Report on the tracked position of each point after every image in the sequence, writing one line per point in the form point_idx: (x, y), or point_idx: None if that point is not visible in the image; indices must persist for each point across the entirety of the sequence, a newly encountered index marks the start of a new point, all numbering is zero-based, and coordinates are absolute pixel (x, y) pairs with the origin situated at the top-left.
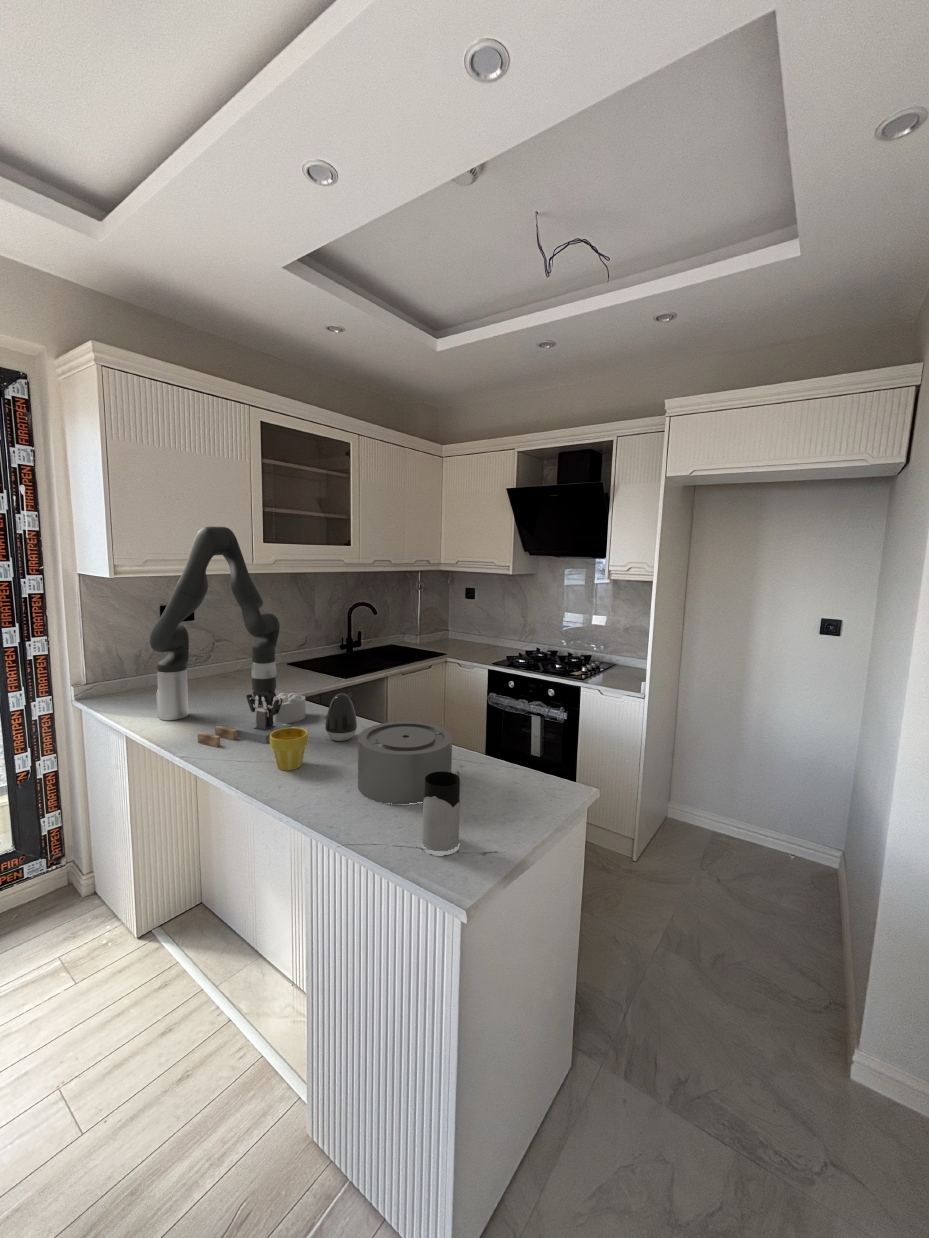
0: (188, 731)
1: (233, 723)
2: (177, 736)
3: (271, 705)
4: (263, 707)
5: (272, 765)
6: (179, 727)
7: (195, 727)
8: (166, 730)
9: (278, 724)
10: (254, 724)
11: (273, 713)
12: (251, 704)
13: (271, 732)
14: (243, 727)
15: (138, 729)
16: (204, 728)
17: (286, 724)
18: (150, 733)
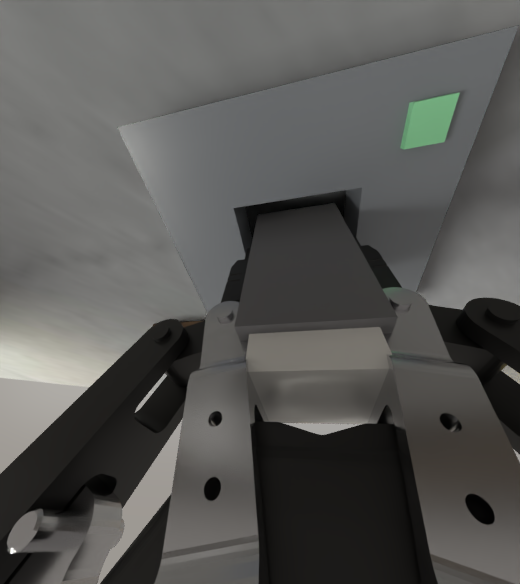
0: (71, 344)
1: (5, 216)
2: (107, 368)
3: (437, 413)
4: (312, 406)
5: (516, 377)
6: (16, 339)
7: (30, 320)
8: (39, 360)
9: (345, 137)
10: (198, 255)
11: (491, 380)
12: (165, 438)
13: (403, 285)
14: (207, 309)
15: (9, 376)
16: (53, 313)
17: (453, 93)
18: (54, 378)
